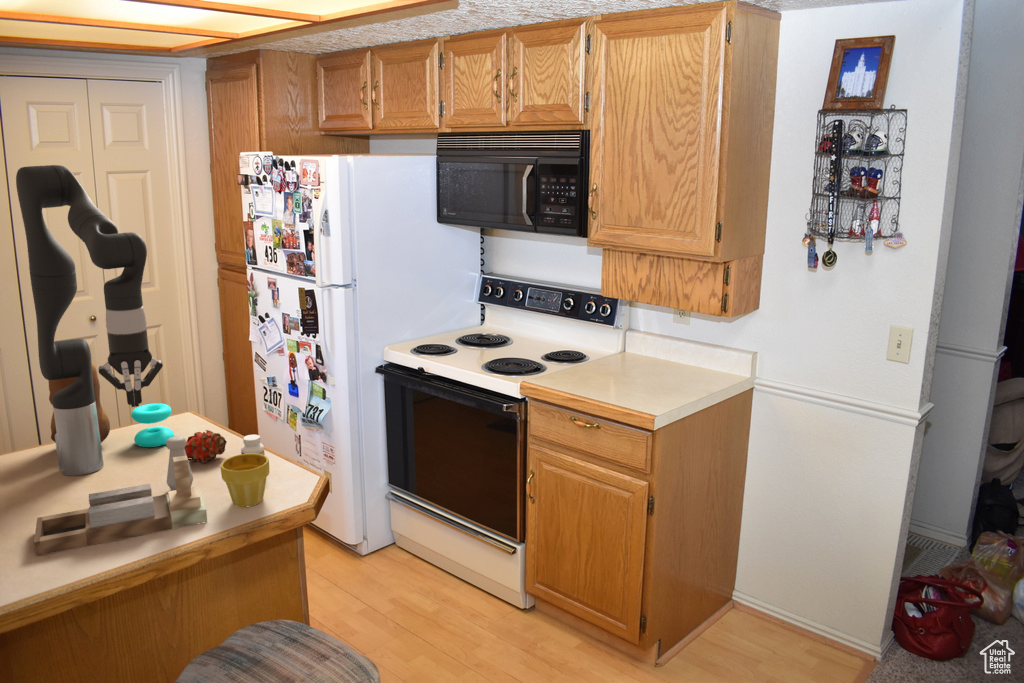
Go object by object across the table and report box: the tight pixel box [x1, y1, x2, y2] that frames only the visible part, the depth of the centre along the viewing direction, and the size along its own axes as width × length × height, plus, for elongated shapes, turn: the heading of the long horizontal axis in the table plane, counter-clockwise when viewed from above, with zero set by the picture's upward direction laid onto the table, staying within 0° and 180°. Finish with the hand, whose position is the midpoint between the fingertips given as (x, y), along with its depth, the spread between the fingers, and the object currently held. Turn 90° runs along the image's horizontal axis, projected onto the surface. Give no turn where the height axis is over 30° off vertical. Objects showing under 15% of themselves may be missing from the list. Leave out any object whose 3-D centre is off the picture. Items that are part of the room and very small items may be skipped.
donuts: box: [130, 403, 175, 448], centre depth 214 cm, size 10×10×10 cm
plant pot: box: [220, 453, 270, 508], centre depth 179 cm, size 10×10×10 cm
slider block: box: [167, 455, 201, 511], centre depth 170 cm, size 6×6×10 cm
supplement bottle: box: [240, 434, 266, 456], centre depth 194 cm, size 5×5×10 cm
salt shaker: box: [165, 435, 194, 491], centre depth 184 cm, size 6×6×13 cm
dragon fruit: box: [184, 429, 228, 464], centre depth 203 cm, size 8×8×12 cm
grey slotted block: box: [88, 483, 155, 529], centre depth 166 cm, size 12×10×4 cm
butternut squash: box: [47, 362, 111, 444], centre depth 208 cm, size 14×13×25 cm
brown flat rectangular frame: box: [33, 488, 208, 557], centre depth 167 cm, size 32×12×3 cm, turn 118°
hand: (135, 405), depth 170 cm, fingers closed
